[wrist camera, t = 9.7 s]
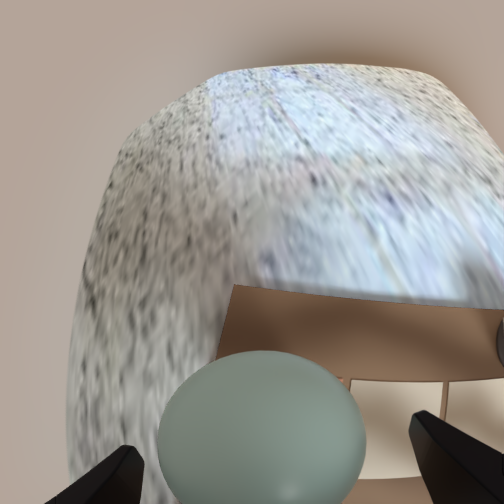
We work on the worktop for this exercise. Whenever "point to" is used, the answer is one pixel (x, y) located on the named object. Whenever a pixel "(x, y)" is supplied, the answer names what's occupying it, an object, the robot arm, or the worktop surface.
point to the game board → (385, 370)
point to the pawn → (262, 433)
